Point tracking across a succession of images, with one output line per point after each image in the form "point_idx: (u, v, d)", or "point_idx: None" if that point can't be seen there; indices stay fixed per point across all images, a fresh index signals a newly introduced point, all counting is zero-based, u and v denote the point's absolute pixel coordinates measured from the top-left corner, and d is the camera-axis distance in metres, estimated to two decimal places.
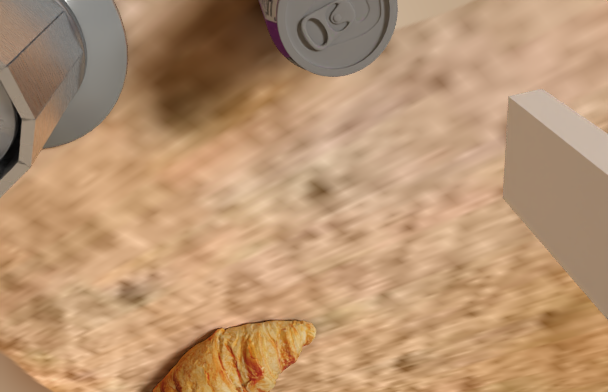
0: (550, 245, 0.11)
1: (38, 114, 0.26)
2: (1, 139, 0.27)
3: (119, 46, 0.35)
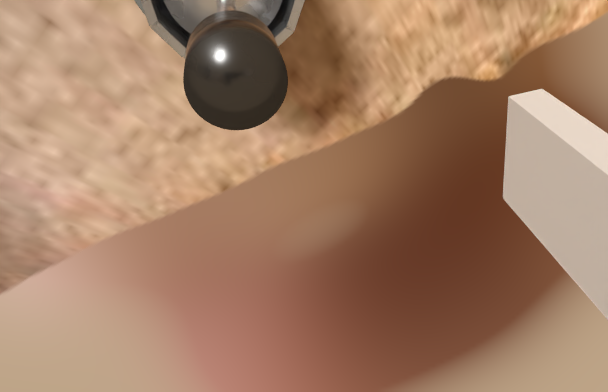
0: (550, 246, 0.11)
1: None
2: None
3: None
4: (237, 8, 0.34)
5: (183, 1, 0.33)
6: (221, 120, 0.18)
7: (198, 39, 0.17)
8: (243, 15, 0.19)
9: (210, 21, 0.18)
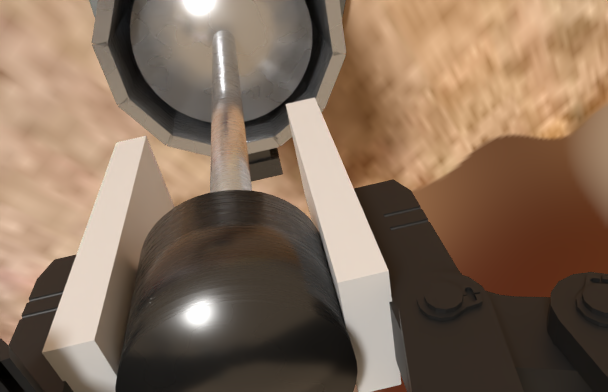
0: None
1: None
2: None
3: None
4: (244, 76, 0.24)
5: (167, 68, 0.23)
6: None
7: (152, 299, 0.07)
8: (257, 209, 0.09)
9: (184, 231, 0.08)
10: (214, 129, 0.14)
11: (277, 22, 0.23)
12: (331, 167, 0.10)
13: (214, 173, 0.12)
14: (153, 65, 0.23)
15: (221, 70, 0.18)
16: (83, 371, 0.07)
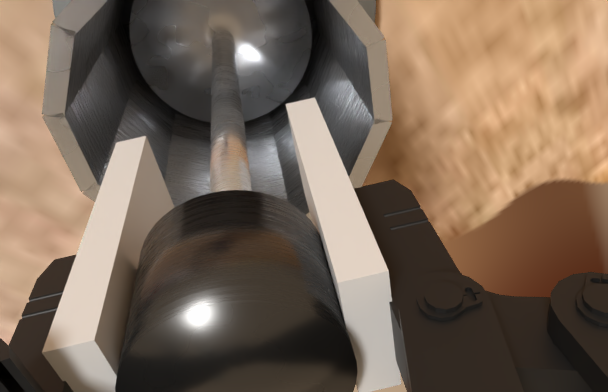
0: None
1: None
2: None
3: None
4: (243, 76, 0.24)
5: (166, 68, 0.23)
6: None
7: (152, 300, 0.07)
8: (257, 209, 0.09)
9: (184, 231, 0.08)
10: (214, 129, 0.14)
11: (276, 22, 0.23)
12: (332, 167, 0.10)
13: (214, 173, 0.12)
14: (152, 66, 0.23)
15: (221, 70, 0.18)
16: (83, 371, 0.07)
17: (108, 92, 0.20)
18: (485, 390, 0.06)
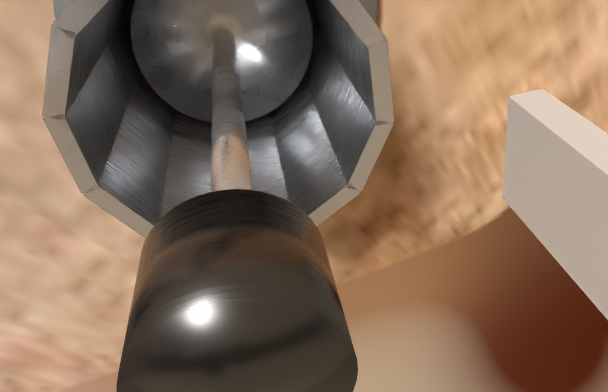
0: (550, 245, 0.11)
1: None
2: None
3: None
4: (244, 76, 0.24)
5: (167, 68, 0.23)
6: None
7: (153, 298, 0.07)
8: (258, 208, 0.09)
9: (185, 230, 0.08)
10: (215, 129, 0.14)
11: (277, 22, 0.23)
12: None
13: (215, 172, 0.12)
14: (153, 65, 0.23)
15: (222, 70, 0.18)
16: None
17: (109, 93, 0.20)
18: None
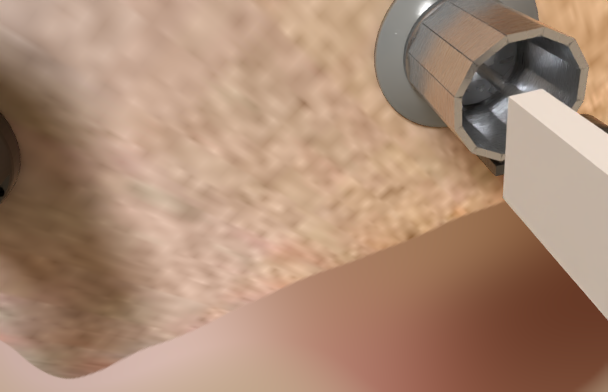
0: (551, 246, 0.11)
1: (539, 25, 0.36)
2: None
3: None
4: (478, 80, 0.46)
5: None
6: None
7: None
8: (594, 118, 0.31)
9: None
10: None
11: (501, 53, 0.45)
12: None
13: None
14: None
15: (500, 78, 0.41)
16: None
17: None
18: None
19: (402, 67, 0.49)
